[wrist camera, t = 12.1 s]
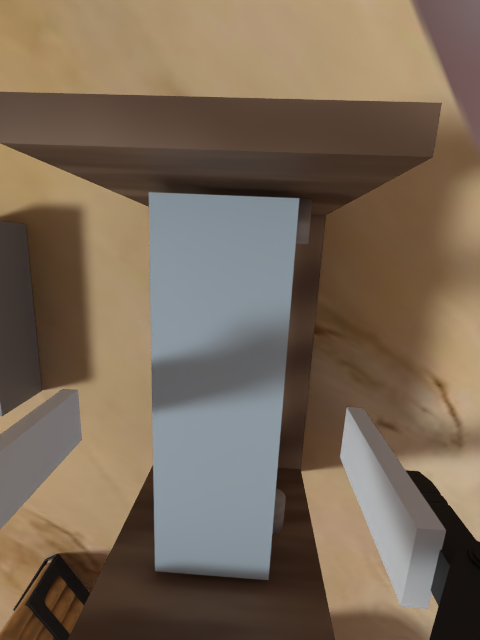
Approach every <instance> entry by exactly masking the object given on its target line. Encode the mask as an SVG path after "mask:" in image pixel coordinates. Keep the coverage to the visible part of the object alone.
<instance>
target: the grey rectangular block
mask: <svg viewBox="0 0 480 640" xmlns="http://www.w3.org/2000/svg"><path fill="white" fill-rule="evenodd" d="M41 391H42V385H41V375H40V365H39V355H38V344H37V334H36V324H35V314H34V304H33V293H32V283H31V273H30V263H29V253H28V242H27V232H26V224H21V223H13V222H5V221H0V416H3V415H5V414H6V413H8V412H10V411H11V410H13V409H14V408H16V407H17V406H19V405H20V404H22V403H24V402H25V401H27V400H28V399H30V398H31V397H33V396H34V395H36V394H38V393H39V392H41Z"/></svg>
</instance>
